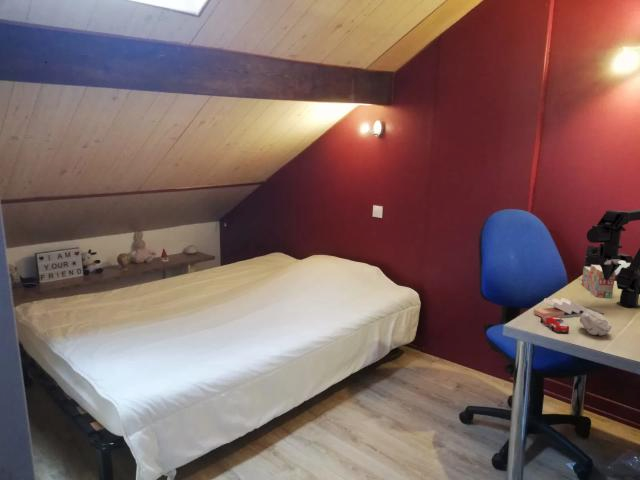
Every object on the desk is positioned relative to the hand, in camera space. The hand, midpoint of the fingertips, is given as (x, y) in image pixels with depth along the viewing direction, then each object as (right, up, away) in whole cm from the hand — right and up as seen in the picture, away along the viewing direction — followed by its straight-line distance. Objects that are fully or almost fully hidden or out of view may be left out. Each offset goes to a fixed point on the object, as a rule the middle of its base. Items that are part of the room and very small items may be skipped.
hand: (606, 279), depth 193 cm
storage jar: (+19, -5, +42) cm, 46 cm away
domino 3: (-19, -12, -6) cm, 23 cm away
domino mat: (-16, -13, -5) cm, 21 cm away
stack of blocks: (+11, -8, +26) cm, 30 cm away
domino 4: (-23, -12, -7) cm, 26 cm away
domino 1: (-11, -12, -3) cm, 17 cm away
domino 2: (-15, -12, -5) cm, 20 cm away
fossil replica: (-20, -17, -25) cm, 36 cm away
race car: (-31, -16, -21) cm, 41 cm away
